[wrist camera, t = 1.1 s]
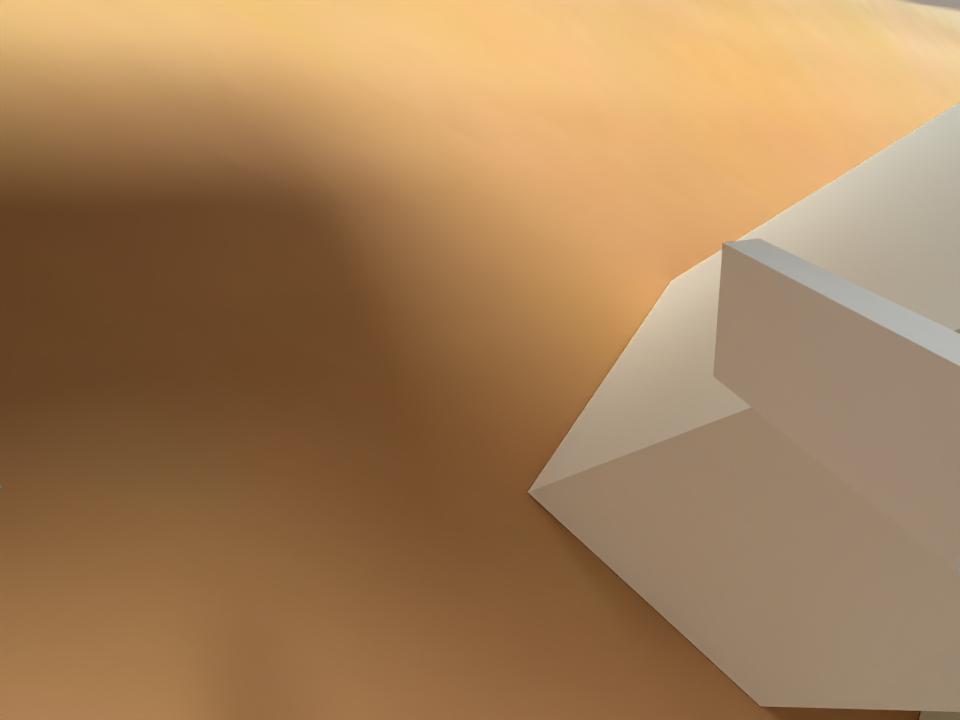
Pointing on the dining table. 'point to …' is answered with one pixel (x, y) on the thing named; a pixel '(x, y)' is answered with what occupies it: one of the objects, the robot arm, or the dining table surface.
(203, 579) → the dining table surface
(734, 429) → the taupe rectangular block
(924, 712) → the grey-green rectangular block
